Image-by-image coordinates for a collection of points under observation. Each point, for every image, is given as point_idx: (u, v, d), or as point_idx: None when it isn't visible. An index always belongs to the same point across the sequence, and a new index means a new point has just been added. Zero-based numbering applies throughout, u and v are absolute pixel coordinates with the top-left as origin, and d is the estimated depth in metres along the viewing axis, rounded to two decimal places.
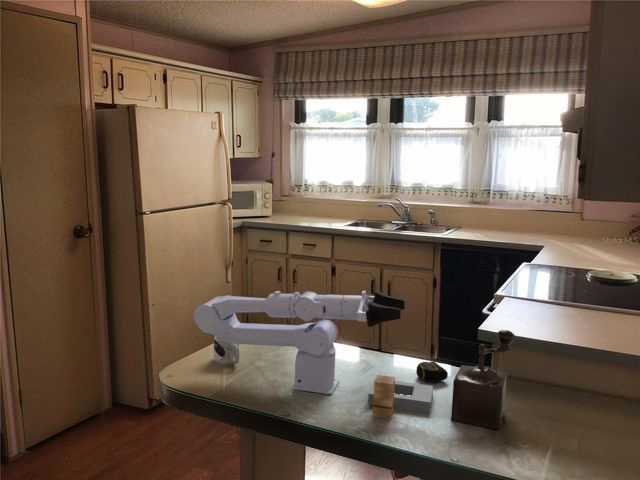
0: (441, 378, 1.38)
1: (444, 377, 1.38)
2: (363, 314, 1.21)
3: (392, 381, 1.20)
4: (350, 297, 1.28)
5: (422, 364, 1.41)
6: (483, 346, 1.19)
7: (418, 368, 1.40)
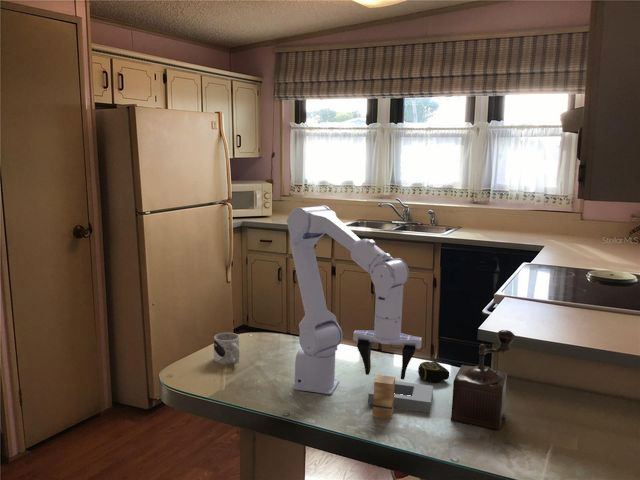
0: (443, 378, 1.38)
1: (446, 377, 1.38)
2: (353, 338, 1.20)
3: (392, 381, 1.20)
4: (381, 326, 1.16)
5: (424, 364, 1.41)
6: (483, 346, 1.19)
7: (420, 368, 1.40)
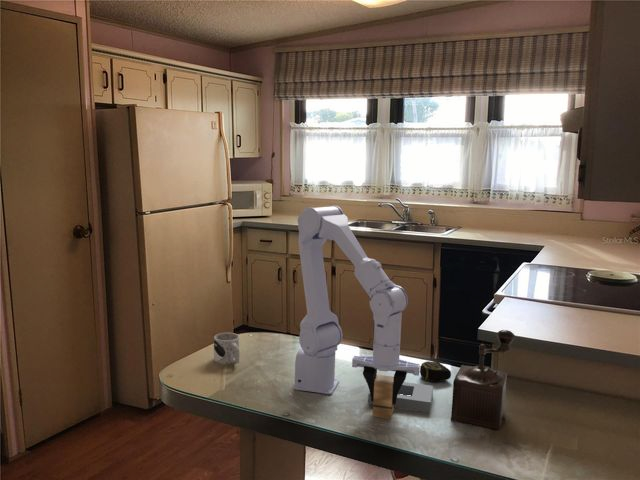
0: (444, 378, 1.39)
1: (447, 377, 1.39)
2: (352, 364, 1.21)
3: (392, 381, 1.20)
4: (380, 353, 1.17)
5: (425, 364, 1.42)
6: (483, 346, 1.19)
7: (422, 368, 1.40)
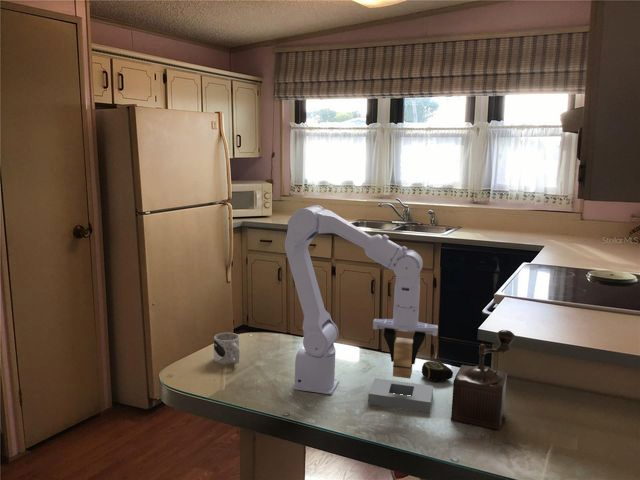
0: (446, 377, 1.39)
1: (449, 376, 1.39)
2: (373, 326, 1.27)
3: (411, 342, 1.25)
4: (400, 314, 1.23)
5: (427, 363, 1.42)
6: (483, 346, 1.19)
7: (423, 367, 1.40)
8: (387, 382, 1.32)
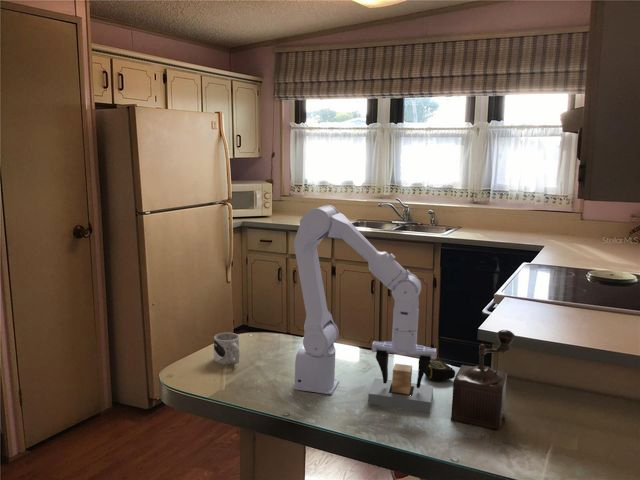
0: (449, 377, 1.39)
1: (452, 376, 1.39)
2: (372, 349, 1.28)
3: (409, 369, 1.26)
4: (399, 338, 1.24)
5: (430, 363, 1.42)
6: (483, 346, 1.19)
7: None
8: (387, 382, 1.32)
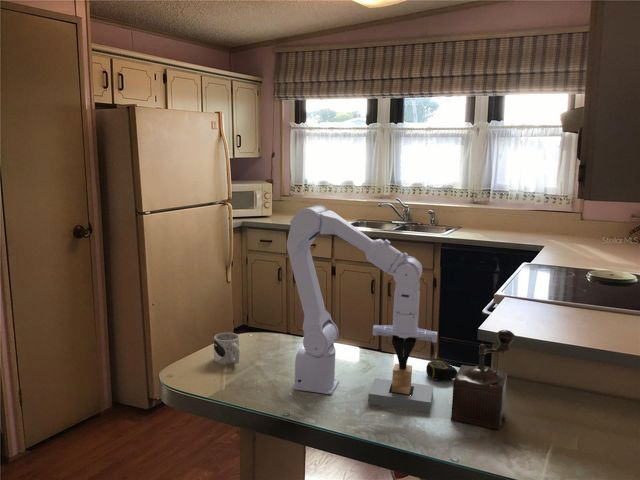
0: (451, 377, 1.39)
1: (454, 376, 1.39)
2: None
3: (409, 369, 1.26)
4: (400, 321, 1.23)
5: (432, 363, 1.42)
6: (483, 346, 1.19)
7: (428, 367, 1.41)
8: (387, 382, 1.32)
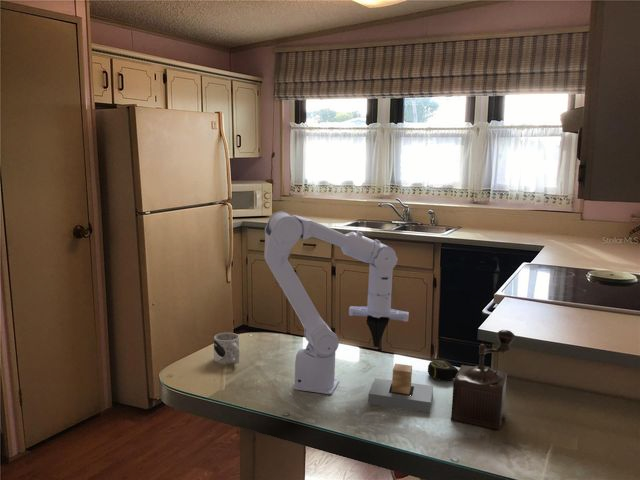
0: (452, 376, 1.40)
1: (455, 375, 1.40)
2: (349, 313, 1.37)
3: (409, 369, 1.26)
4: (373, 301, 1.33)
5: (433, 363, 1.42)
6: (483, 346, 1.19)
7: (429, 366, 1.41)
8: (387, 382, 1.32)
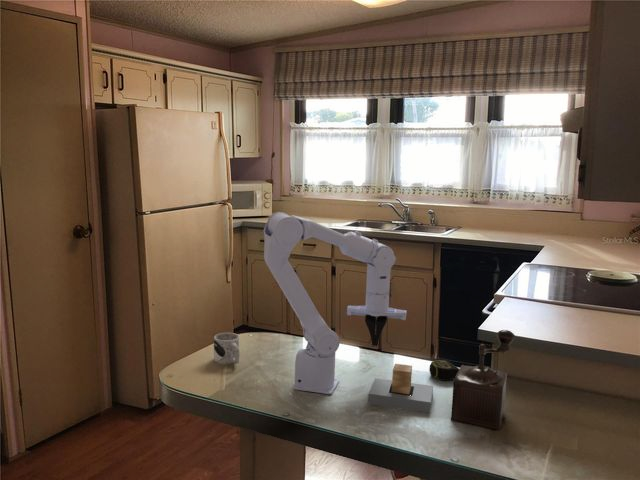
0: (454, 376, 1.40)
1: None
2: (347, 313, 1.37)
3: (409, 369, 1.26)
4: (372, 300, 1.33)
5: (435, 362, 1.43)
6: (483, 346, 1.19)
7: (431, 366, 1.41)
8: (387, 382, 1.32)
